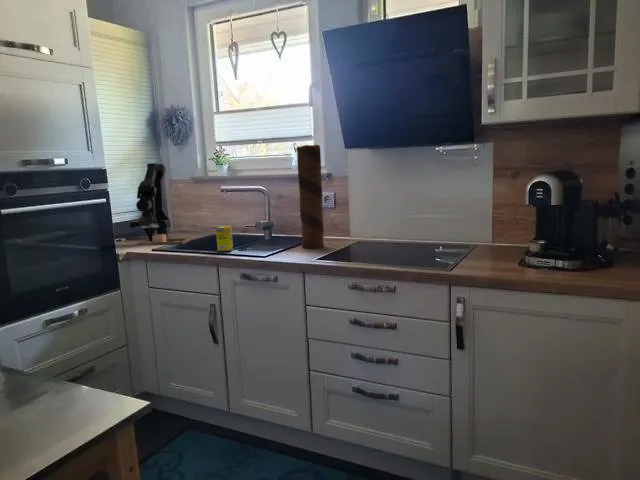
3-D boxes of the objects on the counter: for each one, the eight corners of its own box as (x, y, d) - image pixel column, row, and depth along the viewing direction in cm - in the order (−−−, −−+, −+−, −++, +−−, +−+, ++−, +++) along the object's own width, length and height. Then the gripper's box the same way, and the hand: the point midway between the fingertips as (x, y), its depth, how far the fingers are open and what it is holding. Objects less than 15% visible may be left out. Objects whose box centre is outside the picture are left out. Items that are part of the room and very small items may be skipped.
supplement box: (230, 252, 228) (229, 227, 226) (217, 252, 228) (215, 227, 226) (233, 249, 234) (231, 225, 232) (220, 250, 234) (218, 226, 232)
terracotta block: (156, 242, 258) (156, 234, 258) (166, 242, 258) (166, 234, 257) (152, 244, 254) (152, 235, 253) (162, 243, 253) (162, 235, 253)
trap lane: (147, 243, 263) (147, 239, 262) (190, 242, 261) (189, 238, 261) (137, 247, 251) (137, 243, 250) (182, 246, 249) (182, 241, 249)
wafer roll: (312, 249, 225) (308, 144, 218) (296, 247, 233) (292, 145, 226) (329, 246, 232) (326, 144, 225) (314, 244, 240) (310, 145, 233)
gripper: (122, 211, 246) (125, 244, 249) (161, 210, 245) (163, 243, 247) (132, 209, 257) (135, 240, 260) (169, 208, 256) (171, 239, 258)
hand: (151, 241), depth 256 cm, fingers closed
